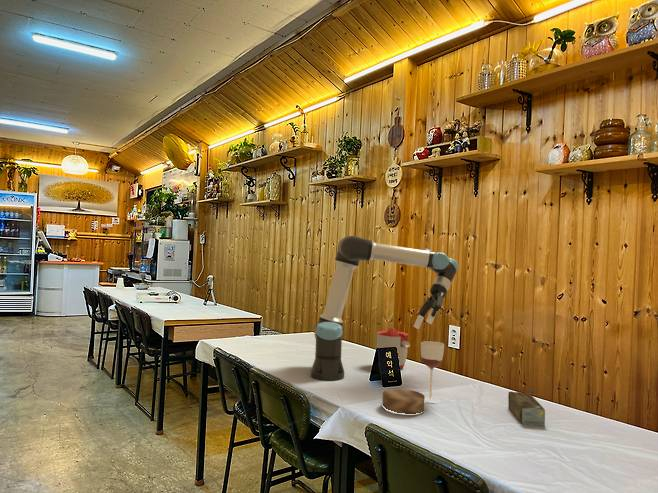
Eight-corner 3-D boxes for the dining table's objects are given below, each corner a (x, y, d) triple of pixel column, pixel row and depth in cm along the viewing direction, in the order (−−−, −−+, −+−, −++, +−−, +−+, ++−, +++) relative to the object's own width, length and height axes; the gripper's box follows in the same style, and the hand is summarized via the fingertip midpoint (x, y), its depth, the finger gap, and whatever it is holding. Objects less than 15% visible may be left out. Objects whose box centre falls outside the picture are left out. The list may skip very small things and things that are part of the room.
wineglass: (445, 399, 189) (447, 343, 190) (436, 405, 181) (439, 346, 182) (424, 395, 194) (426, 340, 194) (414, 401, 186) (417, 343, 186)
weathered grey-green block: (520, 425, 165) (521, 405, 165) (507, 407, 184) (507, 389, 184) (545, 427, 164) (546, 407, 164) (529, 409, 183) (529, 391, 183)
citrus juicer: (398, 374, 227) (399, 331, 228) (368, 367, 239) (370, 326, 239) (416, 368, 239) (417, 328, 239) (387, 362, 251) (388, 323, 251)
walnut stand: (389, 416, 168) (389, 401, 168) (377, 402, 183) (377, 389, 183) (430, 415, 170) (431, 401, 170) (415, 402, 185) (416, 388, 185)
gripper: (459, 285, 220) (441, 325, 212) (434, 297, 243) (417, 333, 234) (445, 276, 220) (427, 315, 211) (422, 289, 243) (404, 325, 234)
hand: (422, 325), depth 223 cm, fingers open, 13 cm apart
